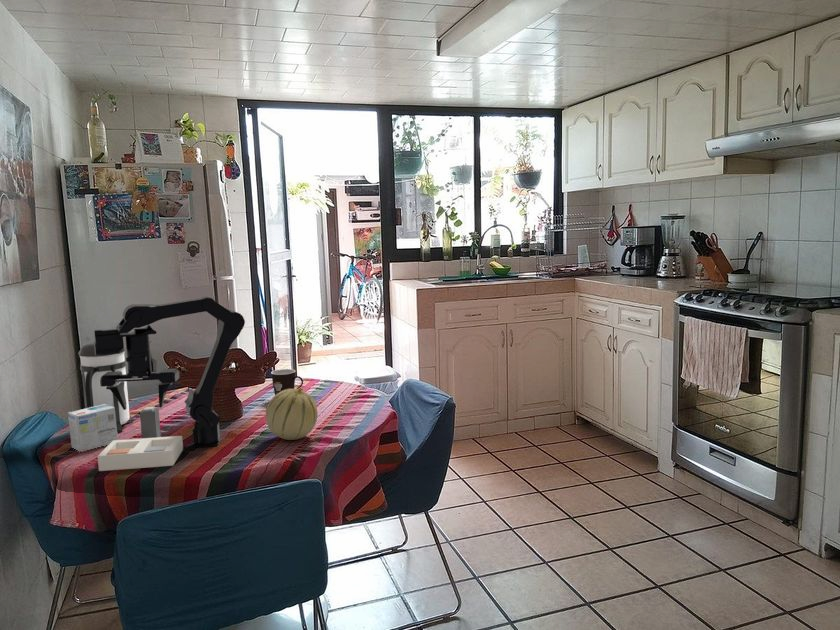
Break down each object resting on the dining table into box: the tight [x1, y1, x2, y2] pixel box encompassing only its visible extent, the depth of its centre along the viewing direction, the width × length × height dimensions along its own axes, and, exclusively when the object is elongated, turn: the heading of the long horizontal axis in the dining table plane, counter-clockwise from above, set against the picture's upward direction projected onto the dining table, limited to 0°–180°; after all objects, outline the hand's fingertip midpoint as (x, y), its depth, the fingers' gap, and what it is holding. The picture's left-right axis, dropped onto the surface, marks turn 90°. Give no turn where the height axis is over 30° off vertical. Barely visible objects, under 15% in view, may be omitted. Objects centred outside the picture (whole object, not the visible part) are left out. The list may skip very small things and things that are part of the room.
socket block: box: [97, 435, 184, 472], centre depth 163 cm, size 18×12×4 cm, turn 99°
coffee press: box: [78, 341, 134, 434], centre depth 188 cm, size 17×16×30 cm
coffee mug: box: [270, 368, 304, 396], centre depth 219 cm, size 12×9×10 cm
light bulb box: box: [67, 404, 119, 452], centre depth 175 cm, size 11×7×11 cm, turn 141°
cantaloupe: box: [265, 387, 319, 441], centre depth 177 cm, size 15×15×15 cm
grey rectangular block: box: [139, 406, 162, 438], centre depth 175 cm, size 4×4×11 cm
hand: (143, 408), depth 166 cm, fingers open, 9 cm apart
